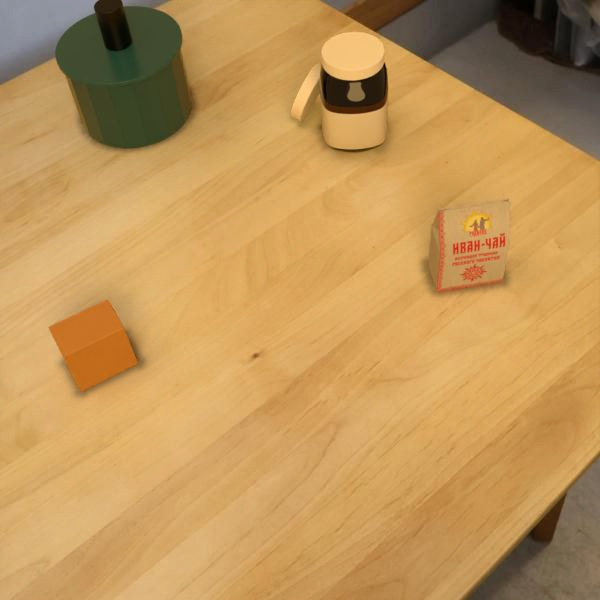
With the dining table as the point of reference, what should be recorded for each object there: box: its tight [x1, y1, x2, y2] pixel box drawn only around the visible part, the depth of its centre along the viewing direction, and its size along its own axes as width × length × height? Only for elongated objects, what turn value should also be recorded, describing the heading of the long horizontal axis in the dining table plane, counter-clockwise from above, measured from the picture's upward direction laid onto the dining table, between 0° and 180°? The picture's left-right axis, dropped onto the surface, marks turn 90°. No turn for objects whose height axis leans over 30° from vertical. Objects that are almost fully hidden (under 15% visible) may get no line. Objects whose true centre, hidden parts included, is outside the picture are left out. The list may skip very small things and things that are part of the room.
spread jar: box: [290, 31, 389, 154], centre depth 97 cm, size 12×11×12 cm
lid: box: [54, 0, 184, 87], centre depth 97 cm, size 15×15×6 cm
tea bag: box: [427, 198, 512, 293], centre depth 83 cm, size 4×7×10 cm, turn 98°
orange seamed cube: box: [48, 298, 139, 392], centre depth 81 cm, size 6×4×6 cm, turn 120°
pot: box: [64, 48, 193, 149], centre depth 102 cm, size 14×14×10 cm
